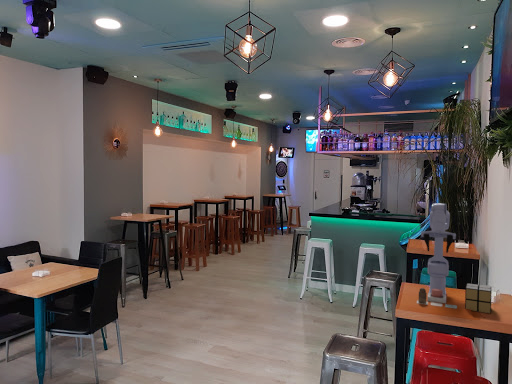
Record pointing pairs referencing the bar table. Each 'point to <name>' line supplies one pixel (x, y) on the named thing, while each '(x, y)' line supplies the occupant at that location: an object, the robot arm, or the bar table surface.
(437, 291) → the button
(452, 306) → the board
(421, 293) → the pawn
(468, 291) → the puzzle cube
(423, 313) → the bar table surface
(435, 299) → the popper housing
